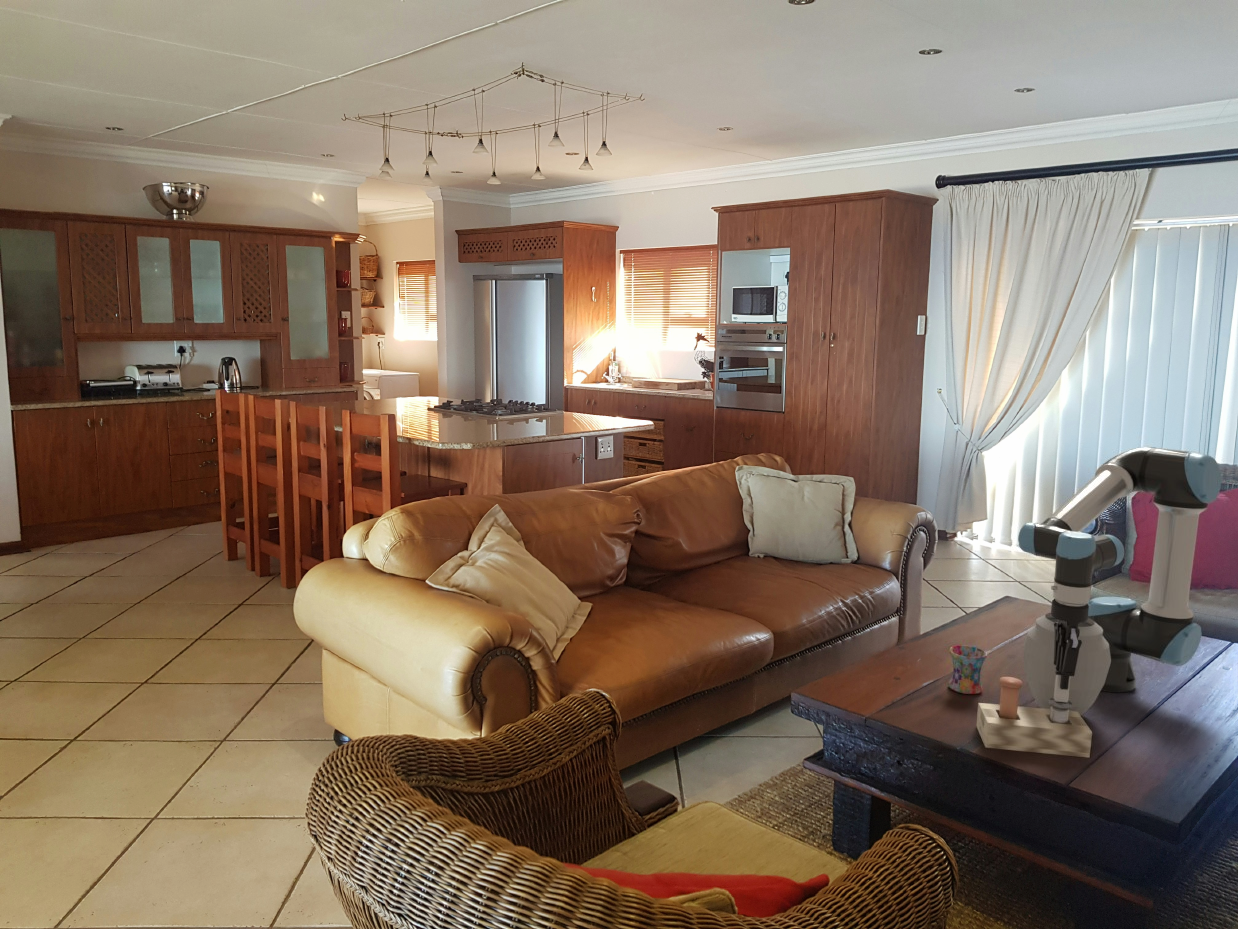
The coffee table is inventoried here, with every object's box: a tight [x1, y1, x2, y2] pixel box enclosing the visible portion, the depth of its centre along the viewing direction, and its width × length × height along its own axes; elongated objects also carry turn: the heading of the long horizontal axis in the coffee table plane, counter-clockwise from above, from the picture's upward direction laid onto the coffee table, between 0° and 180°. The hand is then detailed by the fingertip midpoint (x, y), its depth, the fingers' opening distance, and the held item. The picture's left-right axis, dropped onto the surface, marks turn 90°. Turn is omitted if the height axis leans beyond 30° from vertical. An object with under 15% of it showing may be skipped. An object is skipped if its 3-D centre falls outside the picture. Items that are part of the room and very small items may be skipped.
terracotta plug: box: [999, 676, 1023, 720], centre depth 211 cm, size 5×5×9 cm
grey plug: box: [1049, 698, 1072, 724], centre depth 210 cm, size 5×5×9 cm
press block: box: [976, 702, 1093, 758], centre depth 211 cm, size 22×11×6 cm, turn 79°
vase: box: [1022, 612, 1111, 717], centre depth 225 cm, size 20×20×24 cm
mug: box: [947, 644, 988, 695], centre depth 240 cm, size 12×9×11 cm
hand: (1060, 700), depth 209 cm, fingers closed
